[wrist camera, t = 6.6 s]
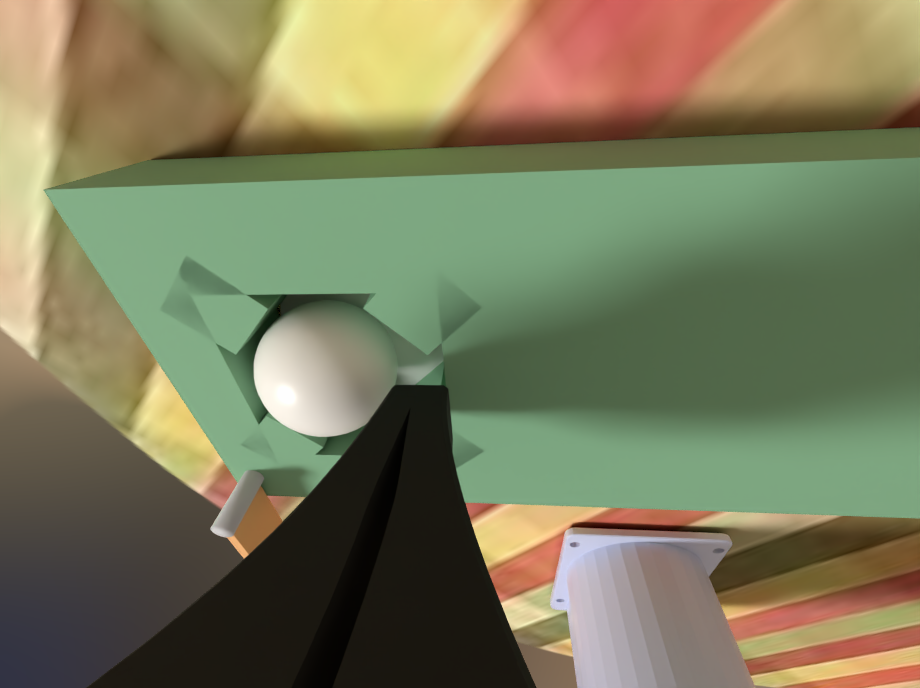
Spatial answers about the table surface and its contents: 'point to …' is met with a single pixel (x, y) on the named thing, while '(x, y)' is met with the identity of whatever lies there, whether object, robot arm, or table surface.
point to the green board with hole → (554, 311)
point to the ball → (324, 368)
